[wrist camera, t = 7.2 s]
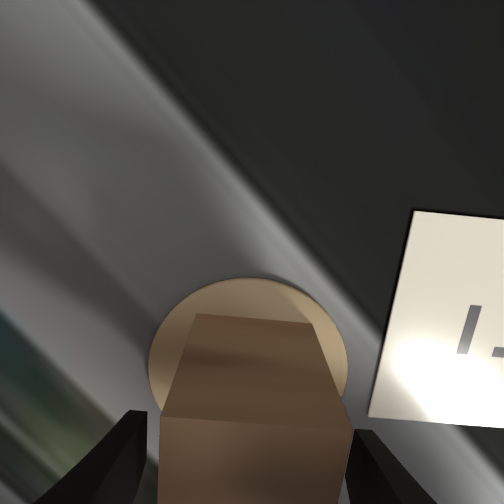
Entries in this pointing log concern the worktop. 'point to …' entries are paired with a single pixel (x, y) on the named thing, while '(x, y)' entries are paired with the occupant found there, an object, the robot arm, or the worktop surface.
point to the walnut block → (252, 417)
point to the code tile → (446, 325)
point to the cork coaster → (249, 306)
